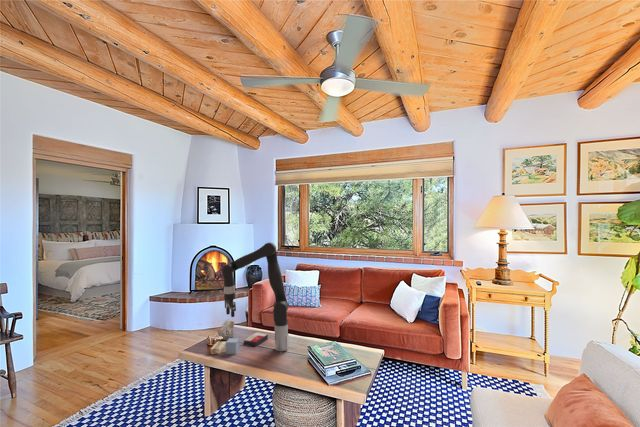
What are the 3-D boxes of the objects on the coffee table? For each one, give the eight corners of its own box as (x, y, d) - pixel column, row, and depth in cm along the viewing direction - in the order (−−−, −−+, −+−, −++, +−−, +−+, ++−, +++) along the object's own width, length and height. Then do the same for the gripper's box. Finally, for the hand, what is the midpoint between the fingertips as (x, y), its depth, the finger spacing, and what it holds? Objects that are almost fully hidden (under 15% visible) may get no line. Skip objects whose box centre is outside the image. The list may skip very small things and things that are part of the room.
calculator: (243, 339, 218) (256, 331, 232) (243, 345, 218) (256, 336, 232) (255, 342, 214) (267, 333, 228) (256, 348, 214) (268, 339, 228)
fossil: (222, 341, 219) (226, 320, 223) (212, 339, 222) (217, 318, 227) (235, 340, 232) (239, 320, 237) (226, 338, 236) (230, 318, 241)
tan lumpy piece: (225, 346, 215) (225, 341, 215) (219, 354, 203) (219, 348, 203) (217, 346, 215) (217, 341, 215) (210, 353, 203) (210, 348, 203)
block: (239, 349, 209) (239, 338, 209) (235, 354, 202) (235, 342, 202) (229, 349, 210) (229, 338, 210) (225, 354, 203) (225, 342, 203)
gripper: (238, 292, 206) (239, 316, 206) (230, 289, 217) (231, 312, 217) (228, 295, 202) (229, 319, 201) (220, 291, 213) (221, 314, 212)
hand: (230, 315), depth 209 cm, fingers open, 8 cm apart
